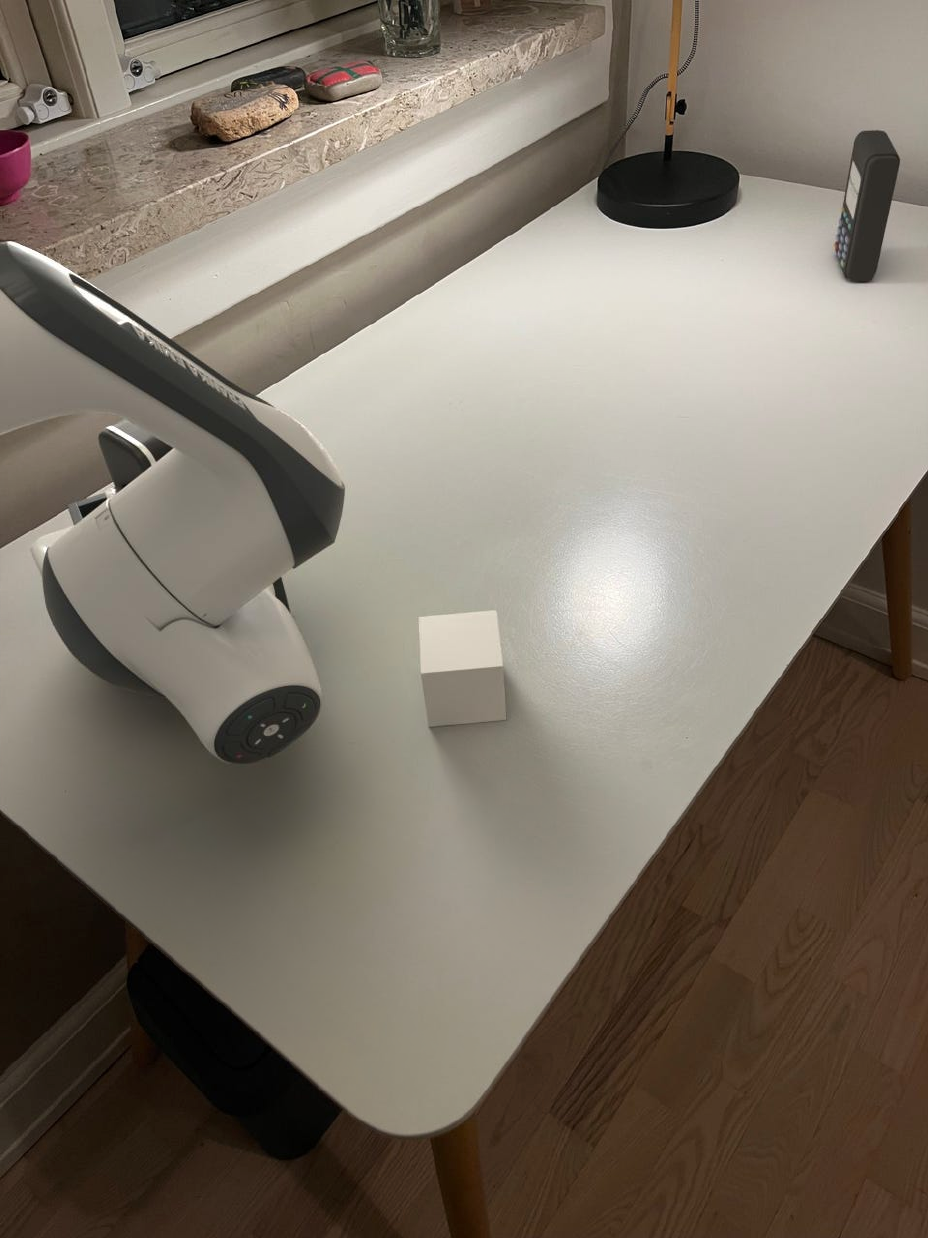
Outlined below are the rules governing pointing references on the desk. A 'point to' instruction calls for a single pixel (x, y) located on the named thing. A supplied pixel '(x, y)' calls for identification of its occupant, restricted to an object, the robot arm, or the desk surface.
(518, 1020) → the desk surface
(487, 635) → the white cube
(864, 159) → the card reader
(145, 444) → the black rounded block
